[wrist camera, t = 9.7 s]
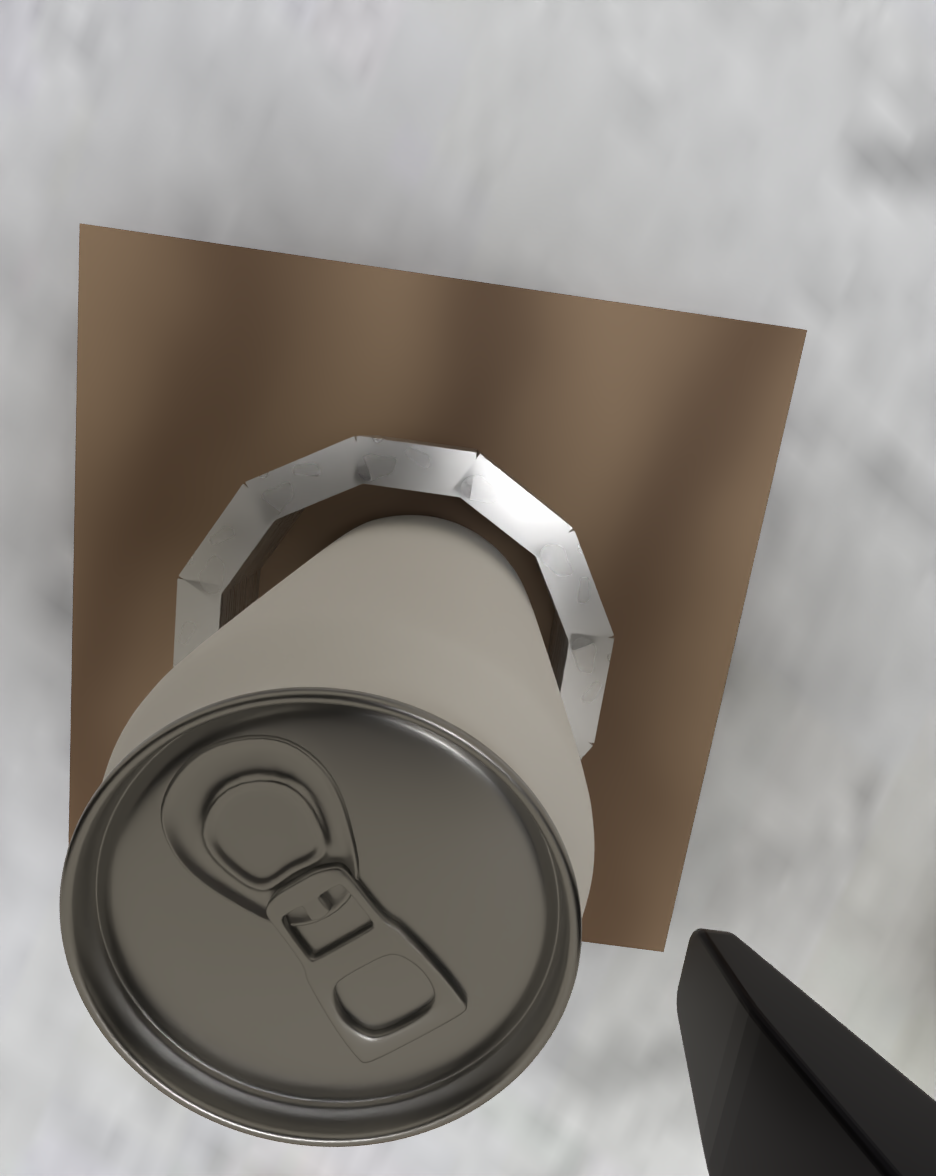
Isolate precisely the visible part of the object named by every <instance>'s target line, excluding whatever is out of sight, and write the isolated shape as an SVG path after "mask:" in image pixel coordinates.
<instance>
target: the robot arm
mask: <svg viewBox="0 0 936 1176" xmlns="http://www.w3.org/2000/svg"><path fill="white" fill-rule="evenodd" d="M677 1013H678V1019H679V1024H680V1030H681V1035H682V1040H683V1045H684V1051H685V1056H686V1061H687V1067H688V1072H689V1077H690V1082H691V1088H692V1093H693V1098H694V1103H695V1109H696V1114H697V1119H698V1125H699V1130H700V1135H701V1140H702V1145H703V1150H704V1155H705V1159H706V1164H707V1169H708V1172H709V1176H936V1101H935V1100H933V1099H932V1098H931V1097H930V1096H929V1095H927V1094H926V1093H925V1092H924V1091H923V1090H921V1089H920V1088H919V1087H918V1086H916V1085H915V1084H914V1083H913V1082H912V1081H910V1080H909V1079H908V1078H907V1077H906V1076H904V1075H903V1074H902V1073H901V1072H900V1071H898V1070H897V1069H896V1068H895V1067H894V1066H892V1065H891V1064H890V1063H889V1062H888V1061H886V1060H885V1059H884V1058H883V1057H881V1056H880V1055H879V1054H878V1053H877V1052H875V1051H874V1050H873V1049H872V1048H871V1047H869V1046H868V1045H867V1044H866V1043H865V1042H863V1041H862V1040H861V1039H860V1038H859V1037H857V1036H856V1035H855V1034H854V1033H853V1032H851V1031H850V1030H849V1029H848V1028H847V1027H845V1026H844V1025H843V1024H842V1023H840V1022H839V1021H838V1020H837V1019H836V1018H834V1017H833V1016H832V1015H831V1014H830V1013H828V1012H827V1011H826V1010H825V1009H824V1008H822V1007H821V1006H820V1005H819V1004H818V1003H816V1002H815V1001H814V1000H813V999H812V998H810V997H809V996H808V995H807V994H806V993H804V992H803V991H802V990H801V989H799V988H798V987H797V986H796V985H795V984H793V983H792V982H791V981H790V980H789V979H787V978H786V977H785V976H784V975H783V974H781V973H780V972H779V971H778V970H777V969H775V968H774V967H773V966H772V965H771V964H769V963H768V962H767V961H766V960H764V959H763V958H762V957H761V956H760V955H758V954H757V953H756V952H755V951H754V950H752V949H751V948H750V947H749V946H748V945H746V944H745V943H744V942H743V941H742V940H740V939H739V938H738V937H737V936H735V935H734V934H732V933H730V932H725V931H717V930H709V929H697V930H696V931H694V932H693V934H692V935H691V937H690V940H689V944H688V948H687V952H686V956H685V961H684V965H683V969H682V973H681V977H680V982H679V986H678V991H677Z"/></svg>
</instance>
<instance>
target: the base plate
mask: <svg viewBox="0 0 936 1176" xmlns="http://www.w3.org/2000/svg"><path fill="white" fill-rule="evenodd" d="M806 332H807V330H803V329H796V328H789V327H782V326H776V325H769V324H762V323H755V322H748V321H742V320H735V319H728V318H721V317H714V316H707V315H701V314H694V313H687V312H680V311H673V310H667V309H660V308H653V307H646V306H639V305H632V304H626V303H619V302H612V301H605V300H598V299H591V298H585V297H578V296H571V295H564V294H557V293H551V292H544V291H537V290H530V289H523V288H516V287H510V286H503V285H496V284H489V283H482V282H476V281H469V280H462V279H455V278H448V277H441V276H435V275H428V274H421V273H414V272H407V271H401V270H394V269H387V268H380V267H373V266H366V265H360V264H353V263H346V262H339V261H332V260H326V259H319V258H312V257H305V256H298V255H291V254H285V253H278V252H271V251H264V250H257V249H251V248H244V247H237V246H230V245H223V244H216V243H210V242H203V241H196V240H189V239H182V238H175V237H169V236H162V235H155V234H148V233H141V232H135V231H128V230H121V229H114V228H107V227H100V226H94V225H87V224H80V235H79V292H78V348H77V405H76V461H75V518H74V574H73V631H72V687H71V743H70V800H69V844H70V841H71V838H72V836H73V833H74V830H75V828H76V826H77V824H78V821H79V819H80V817H81V815H82V813H83V811H84V810H85V808H86V806H87V804H88V803H89V801H90V799H91V798H92V796H93V795H94V793H95V792H96V790H97V789H98V787H99V786H100V785H101V783H102V782H103V778H104V775H105V772H106V768H107V765H108V762H109V760H110V757H111V754H112V752H113V749H114V747H115V745H116V743H117V741H118V739H119V737H120V735H121V733H122V731H123V729H124V728H125V726H126V724H127V722H128V721H129V719H130V718H131V716H132V715H133V713H134V712H135V710H136V709H137V708H138V706H139V705H140V704H141V702H142V701H143V700H144V699H145V698H146V696H147V695H148V694H149V693H150V692H151V691H152V689H153V688H154V687H155V686H156V685H157V684H158V682H159V681H160V680H161V679H162V678H163V677H164V676H165V675H166V674H167V673H168V672H169V671H170V670H171V669H172V668H173V659H174V639H175V619H176V599H177V579H178V578H180V576H179V574H180V573H181V571H182V570H183V569H184V567H185V566H186V564H187V563H188V561H189V560H190V559H191V557H192V556H193V554H194V553H195V551H196V550H197V549H198V547H199V546H200V544H201V543H202V541H203V540H204V539H205V537H206V536H207V534H208V533H209V531H210V530H211V529H212V527H213V526H214V524H215V523H216V521H217V520H218V519H219V517H220V516H221V514H222V513H223V512H224V510H225V509H226V507H227V506H228V504H229V503H230V502H231V500H232V499H233V497H234V496H235V494H236V493H237V492H238V490H239V489H240V487H241V486H242V484H245V483H246V481H249V480H251V479H253V478H256V477H258V476H260V475H263V474H265V473H268V472H270V471H272V470H275V469H277V468H279V467H282V466H284V465H287V464H289V463H291V462H294V461H296V460H298V459H301V458H303V457H306V456H308V455H310V454H313V453H315V452H317V451H320V450H322V449H324V448H327V447H329V446H332V445H334V444H336V443H339V442H341V441H343V440H346V439H348V438H351V437H353V436H364V435H379V436H386V437H393V438H400V439H407V440H414V441H421V442H428V443H435V444H443V445H450V446H457V447H464V448H471V449H477V453H478V452H479V451H481V452H482V453H483V454H484V455H486V456H487V457H488V458H489V459H491V460H492V461H493V462H494V463H496V464H497V465H498V466H499V467H501V468H502V469H503V470H504V471H506V472H507V473H508V474H509V475H511V476H512V477H513V478H514V479H516V480H517V481H518V482H519V483H521V484H522V485H523V486H525V487H526V488H527V489H528V490H530V491H531V492H532V493H533V494H535V495H536V496H537V497H538V498H540V499H541V500H542V501H543V502H545V503H546V504H547V505H548V506H550V507H551V508H552V509H553V510H555V511H556V512H557V513H558V514H559V515H560V516H561V517H562V518H563V519H564V520H565V521H566V522H567V523H568V524H569V525H570V526H571V527H572V528H573V529H574V530H575V533H576V536H577V538H578V541H579V544H580V546H581V549H582V552H583V554H584V557H585V560H586V562H587V565H588V568H589V570H590V573H591V576H592V578H593V581H594V584H595V586H596V589H597V592H598V594H599V597H600V600H601V602H602V605H603V608H604V610H605V613H606V616H607V618H608V621H609V624H610V626H611V629H612V631H613V634H614V636H613V637H614V642H613V648H612V653H611V658H610V663H609V668H608V674H607V679H606V684H605V689H604V694H603V700H602V705H601V710H600V715H599V721H598V726H597V731H596V736H595V741H594V743H592V745H593V746H592V747H591V748H590V750H589V751H588V752H587V753H586V754H585V755H584V756H583V757H582V759H581V764H582V767H583V771H584V775H585V779H586V783H587V788H588V792H589V797H590V802H591V809H592V817H593V827H594V866H593V875H592V881H591V887H590V891H589V895H588V899H587V903H586V906H585V910H584V913H583V916H582V941H584V942H591V943H599V944H607V945H615V946H622V947H630V948H638V949H646V950H653V951H661V952H664V947H665V943H666V939H667V934H668V930H669V926H670V921H671V917H672V913H673V908H674V904H675V900H676V895H677V891H678V887H679V882H680V878H681V874H682V869H683V865H684V861H685V856H686V852H687V848H688V843H689V839H690V835H691V830H692V826H693V822H694V818H695V813H696V809H697V805H698V800H699V796H700V792H701V787H702V783H703V779H704V774H705V770H706V766H707V761H708V757H709V753H710V748H711V744H712V740H713V735H714V731H715V727H716V722H717V718H718V714H719V709H720V705H721V701H722V696H723V692H724V688H725V683H726V679H727V675H728V670H729V666H730V662H731V657H732V653H733V649H734V644H735V640H736V636H737V631H738V627H739V623H740V618H741V614H742V610H743V605H744V601H745V597H746V592H747V588H748V584H749V579H750V575H751V571H752V566H753V562H754V558H755V553H756V549H757V545H758V540H759V536H760V532H761V527H762V523H763V519H764V514H765V510H766V506H767V501H768V497H769V493H770V488H771V484H772V480H773V475H774V471H775V467H776V462H777V458H778V454H779V449H780V445H781V441H782V436H783V432H784V428H785V423H786V419H787V415H788V410H789V406H790V402H791V397H792V393H793V389H794V384H795V380H796V376H797V371H798V367H799V363H800V358H801V354H802V350H803V345H804V341H805V337H806ZM399 515H422V516H431V517H436V518H441V519H445V520H448V521H451V522H454V523H457V524H459V525H461V526H464V527H466V528H468V529H470V530H472V531H473V532H475V533H477V534H478V535H480V536H481V537H483V538H484V539H486V540H487V541H488V542H489V543H491V544H492V545H493V546H494V547H495V548H496V549H497V550H498V551H499V552H500V553H501V554H502V555H503V556H504V557H505V558H506V559H507V561H508V562H509V563H510V564H511V566H512V567H513V568H514V570H515V571H516V573H517V575H518V576H519V578H520V580H521V582H522V584H523V586H524V588H525V590H526V593H527V595H528V598H529V600H530V603H531V606H532V609H533V611H534V614H535V617H536V620H537V623H538V626H539V629H540V632H541V635H542V638H543V641H544V645H545V648H546V651H547V654H548V648H549V642H550V636H551V630H552V624H553V619H554V613H555V609H554V606H553V604H552V601H551V598H550V596H549V593H548V591H547V588H546V586H545V583H544V580H543V578H542V575H541V573H540V570H539V568H538V565H537V563H536V560H535V557H534V555H533V554H532V553H531V552H529V551H528V550H527V549H526V548H524V547H523V546H522V545H521V544H519V543H518V542H517V541H515V540H514V539H513V538H512V537H510V536H509V535H508V534H506V533H505V532H504V531H503V530H501V529H500V528H499V527H497V526H496V525H495V524H494V523H492V522H491V521H490V520H489V519H487V518H486V517H485V516H483V515H482V514H481V513H480V512H478V511H477V510H476V509H474V508H473V507H472V506H471V505H469V504H468V503H467V502H466V501H464V500H463V499H462V498H460V497H455V496H448V495H441V494H434V493H427V492H420V491H413V490H406V489H398V488H391V487H384V486H377V485H370V484H360V485H358V486H356V487H353V488H351V489H348V490H346V491H344V492H341V493H339V494H336V495H334V496H332V497H329V498H327V499H324V500H322V501H319V502H317V503H315V504H312V505H310V506H307V507H305V509H304V510H303V512H302V513H301V514H300V516H299V517H298V518H297V520H296V521H295V523H294V524H293V525H292V527H291V528H290V529H289V531H288V532H287V534H286V535H285V536H284V538H283V539H282V540H281V542H280V543H279V545H278V546H277V547H276V549H275V550H274V551H273V553H272V554H271V556H270V557H269V558H268V560H267V561H266V562H265V564H264V565H263V567H262V568H261V569H260V583H259V596H258V599H259V598H260V597H261V596H263V595H264V594H265V593H267V592H268V591H269V590H271V589H272V588H273V587H274V586H276V585H277V584H278V583H280V582H281V581H282V580H284V579H285V578H286V577H287V576H289V575H290V574H291V573H293V572H294V571H295V570H297V569H298V568H299V567H301V566H302V565H303V564H305V563H306V562H307V561H309V560H310V559H311V558H313V557H314V556H315V555H317V554H318V553H319V552H321V551H322V550H323V549H325V548H326V547H327V546H329V545H330V544H331V543H333V542H334V541H336V540H337V539H338V538H340V537H341V536H343V535H344V534H346V533H347V532H349V531H351V530H352V529H354V528H356V527H358V526H360V525H362V524H364V523H366V522H369V521H372V520H375V519H379V518H384V517H390V516H399Z"/></svg>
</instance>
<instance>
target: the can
mask: <svg viewBox="0 0 936 1176" xmlns="http://www.w3.org/2000/svg"><path fill="white" fill-rule="evenodd" d="M593 866H594V827H593V817H592V809H591V802H590V797H589V792H588V788H587V783H586V779H585V775H584V771H583V767H582V764H581V760H580V757H579V753H578V750H577V747H576V743H575V740H574V737H573V733H572V730H571V727H570V723H569V720H568V717H567V714H566V710H565V707H564V704H563V701H562V698H561V694H560V691H559V688H558V685H557V682H556V679H555V676H554V672H553V669H552V666H551V663H550V660H549V657H548V654H547V651H546V648H545V645H544V641H543V638H542V635H541V632H540V629H539V626H538V623H537V620H536V617H535V614H534V611H533V609H532V606H531V603H530V600H529V598H528V595H527V593H526V590H525V588H524V586H523V584H522V582H521V580H520V578H519V576H518V575H517V573H516V571H515V570H514V568H513V567H512V566H511V564H510V563H509V562H508V561H507V559H506V558H505V557H504V556H503V555H502V554H501V553H500V552H499V551H498V550H497V549H496V548H495V547H494V546H493V545H492V544H491V543H489V542H488V541H487V540H486V539H484V538H483V537H481V536H480V535H478V534H477V533H475V532H473V531H472V530H470V529H468V528H466V527H464V526H461V525H459V524H457V523H454V522H451V521H448V520H445V519H441V518H436V517H431V516H422V515H399V516H390V517H384V518H379V519H375V520H372V521H369V522H366V523H364V524H362V525H360V526H358V527H356V528H354V529H352V530H351V531H349V532H347V533H346V534H344V535H343V536H341V537H340V538H338V539H337V540H336V541H334V542H333V543H331V544H330V545H329V546H327V547H326V548H325V549H323V550H322V551H321V552H319V553H318V554H317V555H315V556H314V557H313V558H311V559H310V560H309V561H307V562H306V563H305V564H303V565H302V566H301V567H299V568H298V569H297V570H295V571H294V572H293V573H291V574H290V575H289V576H287V577H286V578H285V579H284V580H282V581H281V582H280V583H278V584H277V585H276V586H274V587H273V588H272V589H271V590H269V591H268V592H267V593H265V594H264V595H263V596H261V597H260V598H259V599H257V600H256V601H255V602H254V603H252V604H251V605H250V606H248V607H247V608H246V609H245V610H243V611H242V612H241V613H239V614H238V615H237V616H236V617H234V618H233V619H232V620H230V621H229V622H228V623H227V624H225V625H224V626H223V627H221V628H220V629H219V630H218V631H216V632H215V633H214V634H213V635H211V636H210V637H209V638H208V639H206V640H205V641H204V642H203V643H201V644H200V645H199V646H198V647H197V648H195V649H194V650H193V651H192V652H191V653H190V654H188V655H187V656H186V657H185V658H184V659H183V660H181V661H180V662H179V663H178V664H177V665H176V666H175V667H174V668H172V669H171V670H170V671H169V672H168V673H167V674H166V675H165V676H164V677H163V678H162V679H161V680H160V681H159V682H158V684H157V685H156V686H155V687H154V688H153V689H152V691H151V692H150V693H149V694H148V695H147V696H146V698H145V699H144V700H143V701H142V702H141V704H140V705H139V706H138V708H137V709H136V710H135V712H134V713H133V715H132V716H131V718H130V719H129V721H128V722H127V724H126V726H125V728H124V729H123V731H122V733H121V735H120V737H119V739H118V741H117V743H116V745H115V747H114V749H113V752H112V754H111V757H110V760H109V762H108V765H107V768H106V772H105V775H104V778H103V782H102V783H101V785H100V786H99V787H98V789H97V790H96V792H95V793H94V795H93V796H92V798H91V799H90V801H89V803H88V804H87V806H86V808H85V810H84V811H83V813H82V815H81V817H80V819H79V821H78V824H77V826H76V828H75V830H74V833H73V836H72V838H71V841H70V844H69V847H68V850H67V854H66V858H65V862H64V867H63V872H62V879H61V887H60V925H61V934H62V941H63V946H64V951H65V955H66V959H67V962H68V966H69V969H70V972H71V975H72V978H73V980H74V983H75V985H76V988H77V990H78V992H79V995H80V997H81V999H82V1001H83V1003H84V1005H85V1007H86V1008H87V1010H88V1012H89V1014H90V1015H91V1017H92V1019H93V1020H94V1022H95V1023H96V1025H97V1026H98V1028H99V1029H100V1031H101V1032H102V1034H103V1035H104V1036H105V1038H106V1039H107V1040H108V1041H109V1043H110V1044H111V1045H112V1046H113V1048H114V1049H115V1050H116V1051H117V1052H118V1053H119V1054H120V1056H121V1057H122V1058H123V1059H124V1060H125V1061H126V1062H127V1063H128V1064H129V1065H130V1066H131V1067H132V1068H133V1069H134V1070H135V1071H136V1072H138V1073H139V1074H140V1075H141V1076H142V1077H143V1078H144V1079H146V1080H147V1081H148V1082H149V1083H150V1084H152V1085H153V1086H154V1087H156V1088H157V1089H158V1090H160V1091H161V1092H162V1093H164V1094H165V1095H167V1096H168V1097H170V1098H171V1099H173V1100H174V1101H176V1102H177V1103H179V1104H181V1105H182V1106H184V1107H186V1108H188V1109H189V1110H191V1111H193V1112H195V1113H197V1114H199V1115H201V1116H203V1117H205V1118H207V1119H209V1120H211V1121H214V1122H216V1123H218V1124H221V1125H223V1126H226V1127H229V1128H231V1129H234V1130H237V1131H240V1132H243V1133H246V1134H250V1135H253V1136H256V1137H260V1138H264V1139H269V1140H274V1141H278V1142H284V1143H290V1144H298V1145H308V1146H323V1147H345V1146H361V1145H370V1144H378V1143H384V1142H389V1141H394V1140H399V1139H403V1138H407V1137H411V1136H414V1135H418V1134H421V1133H424V1132H427V1131H430V1130H432V1129H435V1128H438V1127H440V1126H443V1125H445V1124H447V1123H450V1122H452V1121H454V1120H456V1119H458V1118H460V1117H462V1116H464V1115H466V1114H468V1113H469V1112H471V1111H473V1110H474V1109H476V1108H478V1107H479V1106H481V1105H483V1104H484V1103H486V1102H487V1101H489V1100H490V1099H491V1098H493V1097H494V1096H495V1095H497V1094H498V1093H500V1092H501V1091H502V1090H503V1089H504V1088H506V1087H507V1086H508V1085H509V1084H510V1083H511V1082H513V1081H514V1080H515V1079H516V1078H517V1077H518V1076H519V1075H520V1074H521V1073H522V1072H523V1071H524V1070H525V1069H526V1068H527V1067H528V1066H529V1065H530V1063H531V1062H532V1061H533V1060H534V1059H535V1057H536V1056H537V1055H538V1054H539V1052H540V1051H541V1050H542V1048H543V1047H544V1046H545V1044H546V1043H547V1041H548V1040H549V1038H550V1037H551V1035H552V1033H553V1032H554V1030H555V1028H556V1027H557V1025H558V1023H559V1021H560V1019H561V1017H562V1015H563V1013H564V1011H565V1008H566V1006H567V1003H568V1001H569V998H570V996H571V993H572V990H573V987H574V983H575V979H576V975H577V971H578V966H579V960H580V953H581V943H582V916H583V913H584V910H585V906H586V903H587V899H588V895H589V891H590V887H591V881H592V875H593Z"/></svg>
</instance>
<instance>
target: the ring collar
mask: <svg viewBox="0 0 936 1176" xmlns="http://www.w3.org/2000/svg"><path fill="white" fill-rule="evenodd" d="M360 484H370V485H377V486H384V487H391V488H398V489H406V490H413V491H420V492H427V493H434V494H441V495H448V496H455V497H460V498H462V499H463V500H464V501H466V502H467V503H468V504H469V505H471V506H472V507H473V508H474V509H476V510H477V511H478V512H480V513H481V514H482V515H483V516H485V517H486V518H487V519H489V520H490V521H491V522H492V523H494V524H495V525H496V526H497V527H499V528H500V529H501V530H503V531H504V532H505V533H506V534H508V535H509V536H510V537H512V538H513V539H514V540H515V541H517V542H518V543H519V544H521V545H522V546H523V547H524V548H526V549H527V550H528V551H529V552H531V553H532V554H533V555H534V557H535V560H536V563H537V565H538V568H539V570H540V573H541V575H542V578H543V580H544V583H545V586H546V588H547V591H548V593H549V596H550V598H551V601H552V604H553V606H554V609H555V613H554V619H553V624H552V630H551V636H550V642H549V648H548V657H549V660H550V663H551V666H552V669H553V672H554V676H555V679H556V682H557V685H558V688H559V691H560V694H561V698H562V701H563V704H564V707H565V710H566V714H567V717H568V720H569V723H570V727H571V730H572V733H573V737H574V740H575V743H576V747H577V750H578V753H579V757H580V760H581V759H582V757H583V756H584V755H585V754H586V753H587V752H588V751H589V750H590V748H591V747H592V746H593V745H592V743H594V741H595V736H596V731H597V726H598V721H599V715H600V710H601V705H602V700H603V694H604V689H605V684H606V679H607V674H608V668H609V663H610V658H611V653H612V648H613V642H614V637H613V636H614V634H613V631H612V629H611V626H610V624H609V621H608V618H607V616H606V613H605V610H604V608H603V605H602V602H601V600H600V597H599V594H598V592H597V589H596V586H595V584H594V581H593V578H592V576H591V573H590V570H589V568H588V565H587V562H586V560H585V557H584V554H583V552H582V549H581V546H580V544H579V541H578V538H577V536H576V533H575V530H574V529H573V528H572V527H571V526H570V525H569V524H568V523H567V522H566V521H565V520H564V519H563V518H562V517H561V516H560V515H559V514H558V513H557V512H556V511H555V510H553V509H552V508H551V507H550V506H548V505H547V504H546V503H545V502H543V501H542V500H541V499H540V498H538V497H537V496H536V495H535V494H533V493H532V492H531V491H530V490H528V489H527V488H526V487H525V486H523V485H522V484H521V483H519V482H518V481H517V480H516V479H514V478H513V477H512V476H511V475H509V474H508V473H507V472H506V471H504V470H503V469H502V468H501V467H499V466H498V465H497V464H496V463H494V462H493V461H492V460H491V459H489V458H488V457H487V456H486V455H484V454H483V453H482V452H481V451H479V452H478V453H477V449H471V448H464V447H457V446H450V445H443V444H435V443H428V442H421V441H414V440H407V439H400V438H393V437H386V436H379V435H364V436H353V437H351V438H348V439H346V440H343V441H341V442H339V443H336V444H334V445H332V446H329V447H327V448H324V449H322V450H320V451H317V452H315V453H313V454H310V455H308V456H306V457H303V458H301V459H298V460H296V461H294V462H291V463H289V464H287V465H284V466H282V467H279V468H277V469H275V470H272V471H270V472H268V473H265V474H263V475H260V476H258V477H256V478H253V479H251V480H249V481H246V483H245V484H242V486H241V487H240V489H239V490H238V492H237V493H236V494H235V496H234V497H233V499H232V500H231V502H230V503H229V504H228V506H227V507H226V509H225V510H224V512H223V513H222V514H221V516H220V517H219V519H218V520H217V521H216V523H215V524H214V526H213V527H212V529H211V530H210V531H209V533H208V534H207V536H206V537H205V539H204V540H203V541H202V543H201V544H200V546H199V547H198V549H197V550H196V551H195V553H194V554H193V556H192V557H191V559H190V560H189V561H188V563H187V564H186V566H185V567H184V569H183V570H182V571H181V573H180V574H179V576H180V578H178V579H177V599H176V619H175V639H174V659H173V668H174V667H175V666H176V665H177V664H178V663H179V662H180V661H181V660H183V659H184V658H185V657H186V656H187V655H188V654H190V653H191V652H192V651H193V650H194V649H195V648H197V647H198V646H199V645H200V644H201V643H203V642H204V641H205V640H206V639H208V638H209V637H210V636H211V635H213V634H214V633H215V632H216V631H218V630H219V629H220V628H221V627H223V626H224V625H225V624H227V623H228V622H229V621H230V620H232V619H233V618H234V617H236V616H237V615H238V614H239V613H241V612H242V611H243V610H245V609H246V608H247V607H248V606H250V605H251V604H252V603H254V602H255V601H256V600H257V599H258V596H259V583H260V569H261V568H262V567H263V565H264V564H265V562H266V561H267V560H268V558H269V557H270V556H271V554H272V553H273V551H274V550H275V549H276V547H277V546H278V545H279V543H280V542H281V540H282V539H283V538H284V536H285V535H286V534H287V532H288V531H289V529H290V528H291V527H292V525H293V524H294V523H295V521H296V520H297V518H298V517H299V516H300V514H301V513H302V512H303V510H304V509H305V507H307V506H310V505H312V504H315V503H317V502H319V501H322V500H324V499H327V498H329V497H332V496H334V495H336V494H339V493H341V492H344V491H346V490H348V489H351V488H353V487H356V486H358V485H360Z"/></svg>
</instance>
